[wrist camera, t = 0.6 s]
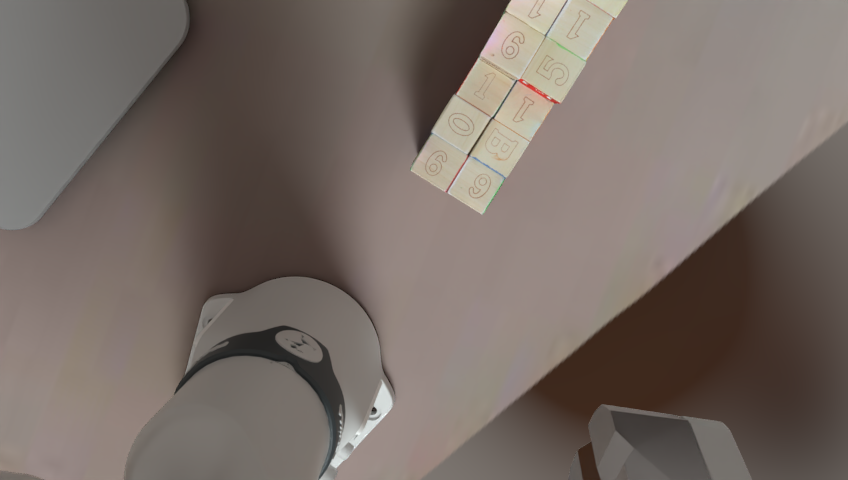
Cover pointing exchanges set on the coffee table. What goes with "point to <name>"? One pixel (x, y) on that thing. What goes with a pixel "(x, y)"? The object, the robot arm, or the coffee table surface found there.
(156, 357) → the coffee table surface
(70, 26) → the tablet
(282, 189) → the coffee table surface
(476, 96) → the stack of blocks
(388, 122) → the coffee table surface
